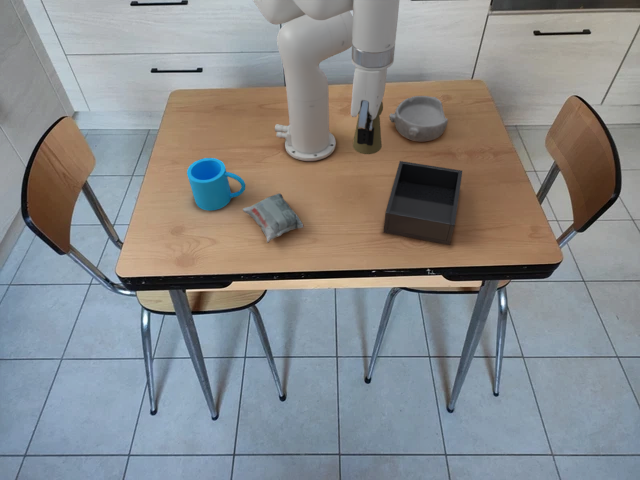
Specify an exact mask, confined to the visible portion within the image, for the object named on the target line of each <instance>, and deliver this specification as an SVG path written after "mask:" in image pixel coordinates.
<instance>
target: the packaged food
mask: <svg viewBox="0 0 640 480" xmlns="http://www.w3.org/2000/svg"><path fill="white" fill-rule="evenodd" d="M242 211H243V212H244V213H245V214H247V215H249V216H250V217H251V218H252V219H253V221H254V222H255V223H256V224H257V225H258V226H259V227H260V228H261V231H262V233H263V234H264V236H265V238H266V243H267V244H268V243H270V242H271V241H272V240H274V239H275V238H277V237H280V236H282V235H283V234H286V233H288V232H290V231H293V230H296V229H297V230H298V229H303V228H304V226H305V225H304V223H303V222H302V220H301V219H300V217H299V216H298V214H297V213H296V212H295V211H294V210H293V209H292V208H291V207H290V205H289V204H288V202H286V200H285V199H284V197H283V195H282V193H280V192H279V193H276V194H273V195H271V196H268V197H266V198H264V199H261V200H260V201H258V202H256V203H255V204H253V205H251V206H247V207H246V206H245V207H244V208H242Z"/></svg>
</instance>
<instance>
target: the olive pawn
mask: <svg viewBox="0 0 640 480" xmlns="http://www.w3.org/2000/svg"><path fill="white" fill-rule="evenodd" d="M383 111H384V103H383V101H382V102H381V105H380V107H379V111H378V113H377V116H376V118H375V119H374V121H373V128H374V139H373V145H372V146H369V145H367V144H358V143H357V134H358V121H359V113H358V114H357V120H356V125H355V129H354V136H353V141H352V148H353V150H354V151H356V152H357V153H359V154H360V155H361V154H362V155H374V154H376V153H379V152H380V151H381V149H382V132H381V118H380V117H381V115H382V113H383ZM368 115H370V113H369V112H368ZM367 122H369V124H370V119H367Z"/></svg>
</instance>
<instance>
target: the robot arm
mask: <svg viewBox="0 0 640 480" xmlns="http://www.w3.org/2000/svg"><path fill="white" fill-rule="evenodd" d="M252 2H253V3H254V5H255V6H256V8H257V9H258V10H259V12H260V14H262V16H263V17H264V19H265V20H266V21H267V22H268V23H270V24H271V25H275V26H276V25H282V26H281V28H279V31H278V33H277V36H276V44H277V49H278V53H279V56H280V60H281V63H282V68H283V73H284V80H285V82H284V83H285V91H286V101H287V112H288V122H289V124H288V125H284V124H278V123H276V124H275V126H274V132H276V135H275V136H276V138H279V139H285V140H284V148H285V151H286V153H287V154H288V155H289V156H290V157H292V158H294V159H296V160H298V161H304V162H316V161H320V160H323V159H326V158H327V157H329V156H331V155H332V154H333V152H334V151H335V149H336V144H337V141H336V137H335V136H334V134H333V133H332V132H330V97H329V96H330V94H329V80H328V76H327V74H326V72H325V71H324V70H323V69H321V67H320V64H321V63H322V62H323V61H325V60H328V59H329V58H331V57H334V56H336V55H338V54H339V55H340V54H341V53H343V52H345V51H347V50H349V49H351V63H352V65H353V66H355V67H354V73H353V81H352V91H351V105H350V116H351V117H352V118H357V117H358V113H359V121H358V134H357V143H358V144H367V145H369V146H372V145H373V139H374V128H373V121H374V119H375V118H376V116H377V113H378V111H379V107H380V105H381V102H383V100H384V96H385V91H386V85H387V76H388V75H387V73H388V68H390V67H391V66H392V65H393V64H394V61H395V51H396V40H397V31H398V18H399V10H400V0H252ZM351 11H352V12H351ZM368 112H369V113H370V115H368ZM367 119H370V124H369V122H367Z"/></svg>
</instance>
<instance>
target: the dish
mask: <svg viewBox="0 0 640 480" xmlns="http://www.w3.org/2000/svg"><path fill="white" fill-rule="evenodd" d="M388 117H389V121H390V122H391V124H393V123H394V127H395V129H396V131H397V132H398V133H399V134H400V135H401V136H402V137H404V138H405V139H407V140H410V141H413V142H421V143H423V142H429V141H434V140H437V139H438V138H439V137H441V136H442V134H444V132H445V131H446V129H447V126H448V123H449V118H447V117H446V115H445V111H444V108H443V103H442V101H441V100H440V99H439V98H437V97H436V96H429V95H416V96H415V95H414V96H411V97H408V98H405V99H404V100H402V101H401V102H400V103H399V104H398V105H397V107H396V109H395V111H394V113H391V112H390V114H389V116H388Z"/></svg>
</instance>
